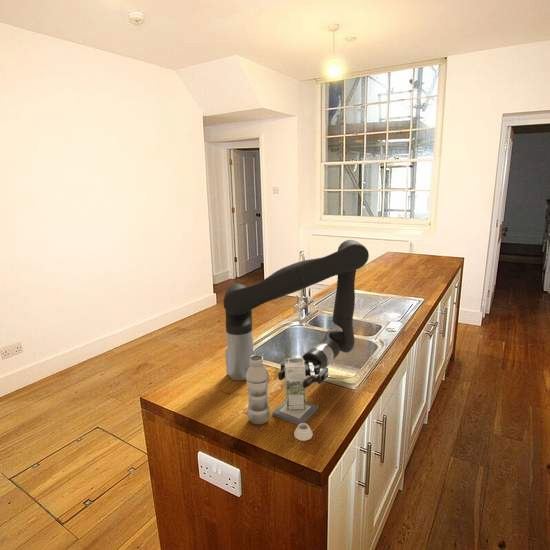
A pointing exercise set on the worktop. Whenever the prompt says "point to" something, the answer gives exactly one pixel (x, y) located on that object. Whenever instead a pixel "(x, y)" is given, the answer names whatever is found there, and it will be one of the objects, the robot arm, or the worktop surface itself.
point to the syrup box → (295, 383)
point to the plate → (295, 413)
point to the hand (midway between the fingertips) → (291, 381)
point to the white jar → (303, 432)
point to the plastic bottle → (257, 391)
